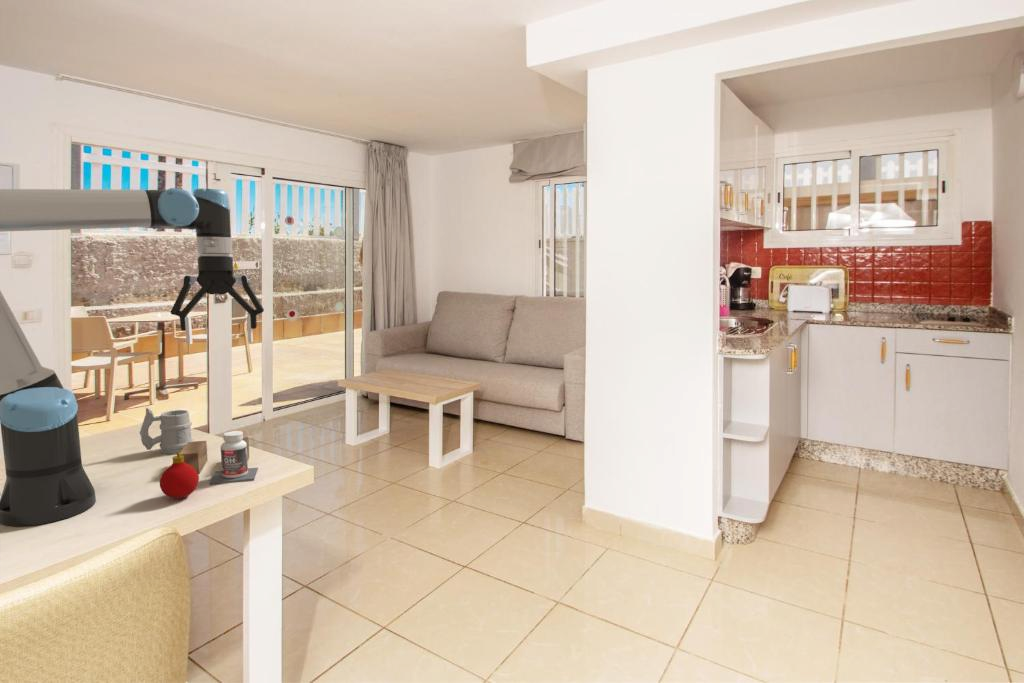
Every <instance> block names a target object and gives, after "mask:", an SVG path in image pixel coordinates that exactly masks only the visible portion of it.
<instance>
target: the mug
mask: <svg viewBox="0 0 1024 683" xmlns="http://www.w3.org/2000/svg"><path fill="white" fill-rule="evenodd" d="M157 421H158V422H160V424H159V429H160V435H158V436H156V437H151V435H149V428H150V426H152V424H153V423H154V422H157ZM192 423H193V422H192V421H191V419H190V412H189V410H186V409H176V410H167V411H164V412H162V413H161V414H160V415H155V413H154V412H153V410H152V409H151V408H150V407H145V416H144V419H143V422H142V423H141V427H140V431H139V434H140V438H141V439H140V441H141V444H142V445H143V446H144V447H145V449H146V450H148V451H150V450H151V449H152V448H153V447H154V446H155V445H157V444H159V447H160V448H159V449H161V453H162V454H165V455H166V454H167V455H175V454H176V455H177V451H179V453H180V452H181V451H182V449H183V448H184V447H185V445H186V444H187V443H188V442H195V440H194V439H193V437H192V427H191V426H192V425H193V424H192Z"/></svg>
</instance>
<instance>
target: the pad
mask: <svg viewBox="0 0 1024 683" xmlns="http://www.w3.org/2000/svg"><path fill="white" fill-rule="evenodd" d="M258 470H259V467H251V468H250V467H248V473H247V474H246V475H244V476H242V477H238V478H225V477H223V476H222V470H216V471H215V472H214V473H213V476H212V477H211V479H210V481H209V485H217V484H218V485H219V484H228V483H230V484H231V483H239V482H248V481H249V482H251V481H255V479H256V477H257V473H258Z"/></svg>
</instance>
